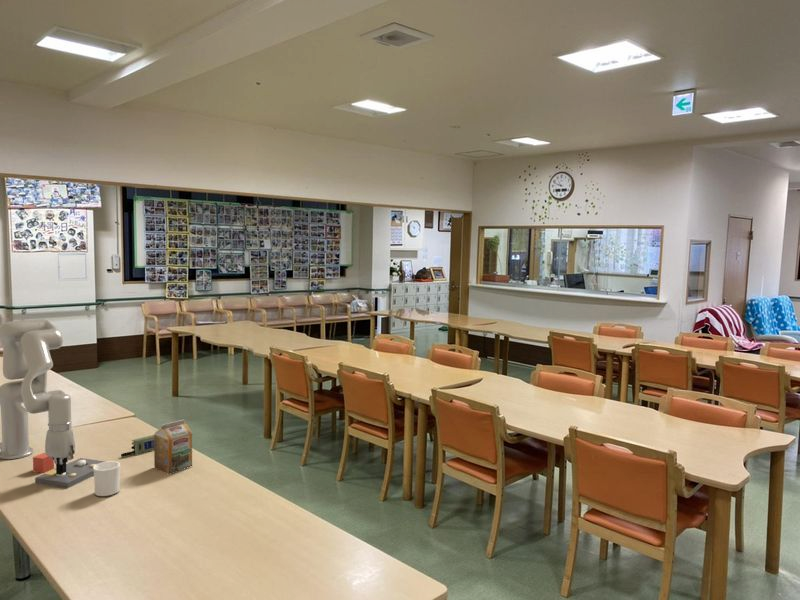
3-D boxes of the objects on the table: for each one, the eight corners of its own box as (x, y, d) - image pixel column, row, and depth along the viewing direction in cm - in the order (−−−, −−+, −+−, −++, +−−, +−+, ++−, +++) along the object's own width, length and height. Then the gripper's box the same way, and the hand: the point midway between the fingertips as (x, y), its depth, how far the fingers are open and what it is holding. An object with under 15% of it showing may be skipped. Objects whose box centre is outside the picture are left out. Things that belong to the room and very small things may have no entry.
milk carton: (168, 474, 231) (168, 427, 229) (154, 467, 237) (154, 422, 235) (192, 466, 239) (192, 422, 237) (177, 460, 245) (177, 416, 244)
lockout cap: (33, 471, 229) (32, 457, 229) (43, 467, 234) (43, 452, 233) (43, 473, 228) (43, 458, 227) (54, 468, 233) (53, 454, 232)
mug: (109, 499, 206) (109, 471, 206) (87, 496, 208) (87, 469, 207) (129, 487, 217) (129, 460, 216) (108, 484, 219) (108, 458, 218)
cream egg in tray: (54, 479, 222) (54, 473, 221) (61, 475, 225) (61, 470, 224) (61, 480, 221) (61, 475, 221) (67, 476, 224) (67, 471, 224)
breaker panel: (35, 482, 218) (35, 476, 218) (80, 462, 240) (80, 456, 239) (67, 488, 215) (67, 481, 215) (111, 467, 236) (111, 460, 236)
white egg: (74, 466, 231) (74, 462, 231) (81, 464, 234) (81, 459, 234) (81, 467, 230) (81, 463, 230) (87, 465, 233) (87, 460, 233)
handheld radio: (177, 445, 265) (123, 459, 246) (173, 443, 267) (119, 457, 248) (177, 430, 265) (123, 443, 245) (173, 429, 267) (119, 442, 247)
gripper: (36, 427, 219) (37, 474, 221) (68, 431, 215) (69, 479, 217) (52, 422, 226) (53, 467, 228) (84, 425, 223) (85, 472, 224)
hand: (61, 473), depth 222 cm, fingers closed
